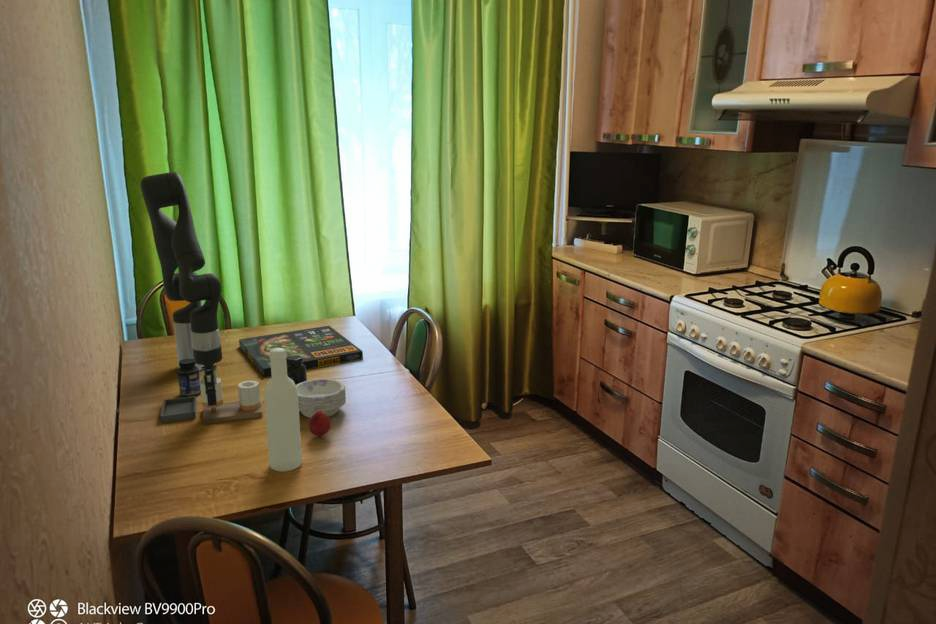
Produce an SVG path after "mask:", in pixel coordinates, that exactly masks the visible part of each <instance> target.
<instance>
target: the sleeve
mask: <svg viewBox="0 0 936 624" xmlns="http://www.w3.org/2000/svg"><path fill="white" fill-rule="evenodd" d="M214 381H215V379H214ZM200 389H201V393H200V397H201V405H202V406H201V407H202V408H203V407H205V408H215V407H219V406H221V405H223V403H224V397H223V396H224V395H223V390H222V389H223V386H222V379H221V378H220V377H217V384H216V385H215V389H216V402H217V404H216V405H214V406H209V405H208V398H207V394H206V393H205V391H206V389H205V385H204V382H203V379H200ZM208 389H213V387H208Z"/></svg>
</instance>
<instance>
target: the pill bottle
mask: <svg viewBox="0 0 936 624" xmlns="http://www.w3.org/2000/svg"><path fill="white" fill-rule="evenodd" d="M195 364H196V363H195V362H194V359H192V358H188V359H182V360H180V361H179V365H178V369H177V372H176V373H177V380H178V381H177V382H178V389H179V394H180V396H181V398H183V397H192V396H196V397H198V396H200V395H201V389H200V381H201V377H200V371H199V369H198V367H196V366H195ZM179 366H180V368H179Z"/></svg>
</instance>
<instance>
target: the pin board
mask: <svg viewBox="0 0 936 624" xmlns="http://www.w3.org/2000/svg"><path fill="white" fill-rule="evenodd" d="M201 416H202V417H201V420H202V421H201V422H202V425H203V426H204V425H212V424H220V423H227V422H234V421H240V420H242V421H243V420H249V419H257V418H263V410H262V405H261V406H260V407H259V408H258V409H255V410H250V411H244V410H242V409H240V405H239V400H238V401H231V402H230V401H229V402H223V405H221V406H219V407H215V408H205V407H202V415H201Z"/></svg>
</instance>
